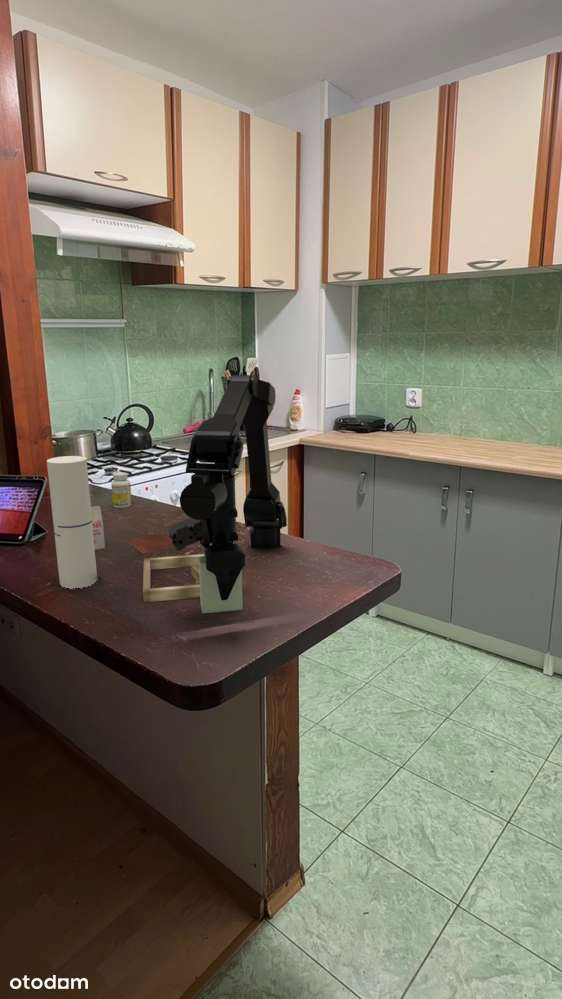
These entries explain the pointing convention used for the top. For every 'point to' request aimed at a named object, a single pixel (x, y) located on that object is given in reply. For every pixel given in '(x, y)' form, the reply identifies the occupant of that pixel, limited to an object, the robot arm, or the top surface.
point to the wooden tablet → (152, 543)
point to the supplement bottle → (121, 490)
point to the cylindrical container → (72, 521)
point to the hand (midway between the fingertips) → (221, 589)
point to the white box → (97, 528)
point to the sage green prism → (217, 592)
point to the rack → (169, 592)
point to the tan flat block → (195, 572)
